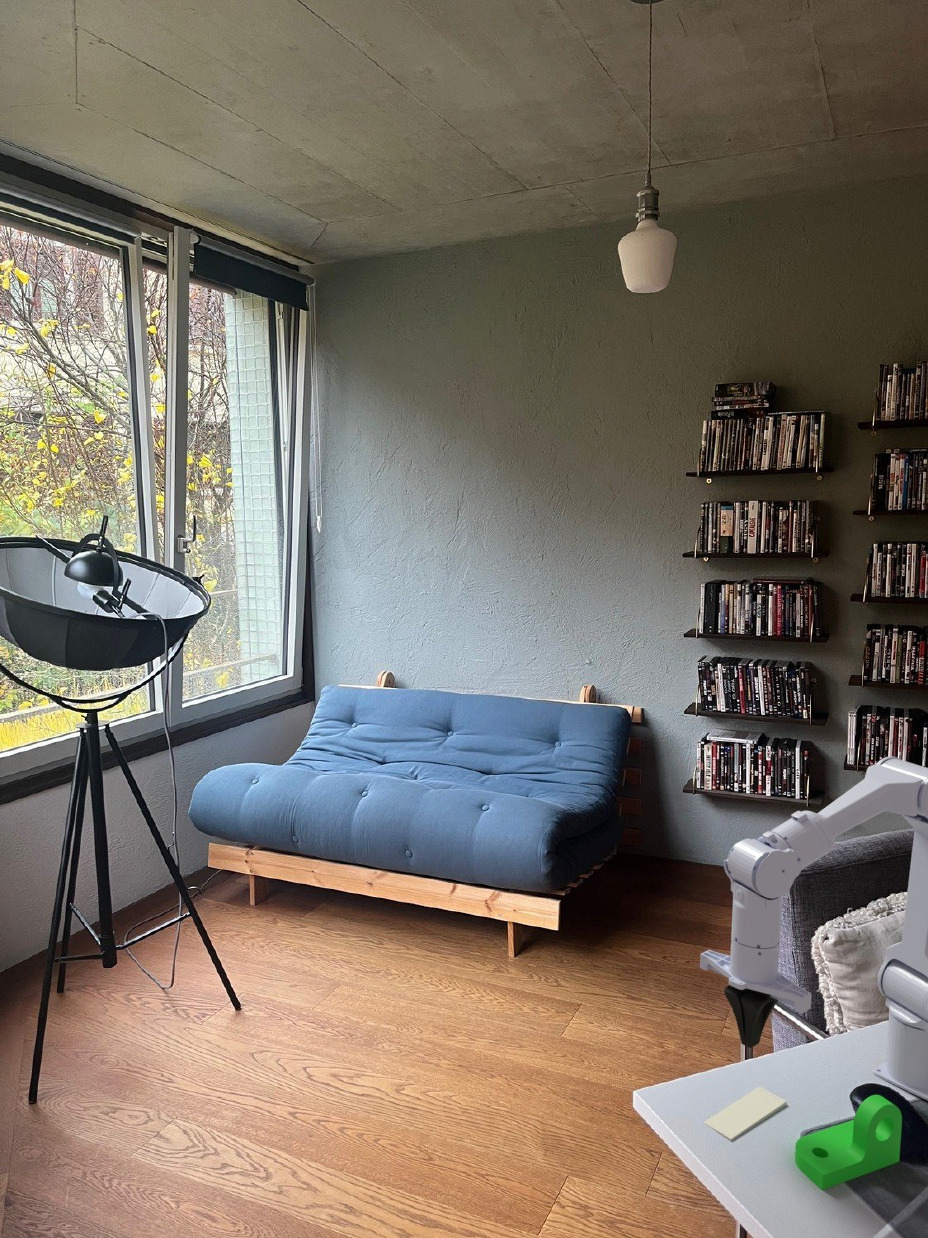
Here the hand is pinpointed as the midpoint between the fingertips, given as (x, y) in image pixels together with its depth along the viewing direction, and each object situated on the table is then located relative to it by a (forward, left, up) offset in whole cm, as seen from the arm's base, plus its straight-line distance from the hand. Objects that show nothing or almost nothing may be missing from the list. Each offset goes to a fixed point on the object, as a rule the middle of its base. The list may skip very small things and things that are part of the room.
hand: (750, 1043), depth 117 cm
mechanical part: (-2, +11, -10) cm, 16 cm away
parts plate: (0, 0, -10) cm, 10 cm away
